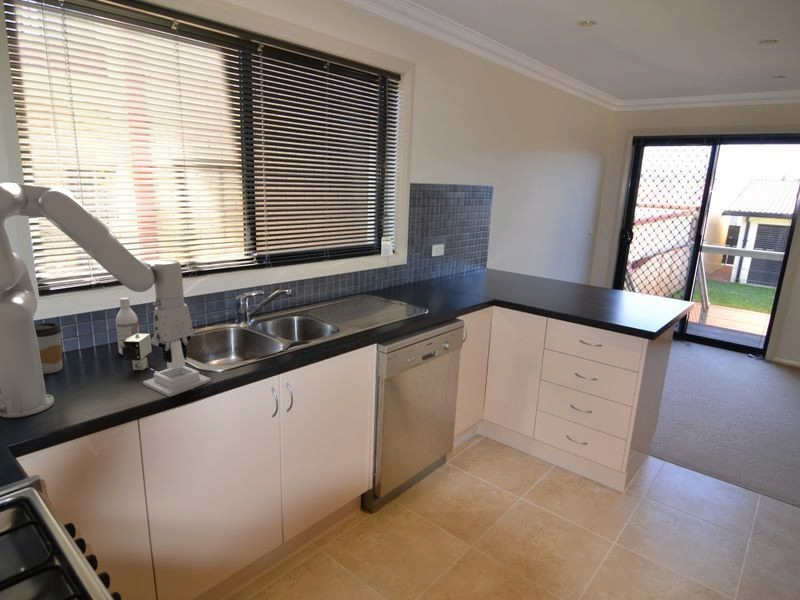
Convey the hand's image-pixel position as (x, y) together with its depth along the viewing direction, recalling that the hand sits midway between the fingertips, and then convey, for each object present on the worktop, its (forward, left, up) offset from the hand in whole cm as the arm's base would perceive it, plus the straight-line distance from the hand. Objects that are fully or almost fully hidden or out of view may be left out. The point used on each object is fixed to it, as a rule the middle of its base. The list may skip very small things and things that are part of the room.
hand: (175, 358), depth 150 cm
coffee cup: (-19, +40, -8) cm, 45 cm away
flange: (0, 0, -8) cm, 8 cm away
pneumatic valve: (-1, +20, -8) cm, 22 cm away
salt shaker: (0, 0, -3) cm, 3 cm away
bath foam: (+5, +37, -8) cm, 38 cm away
